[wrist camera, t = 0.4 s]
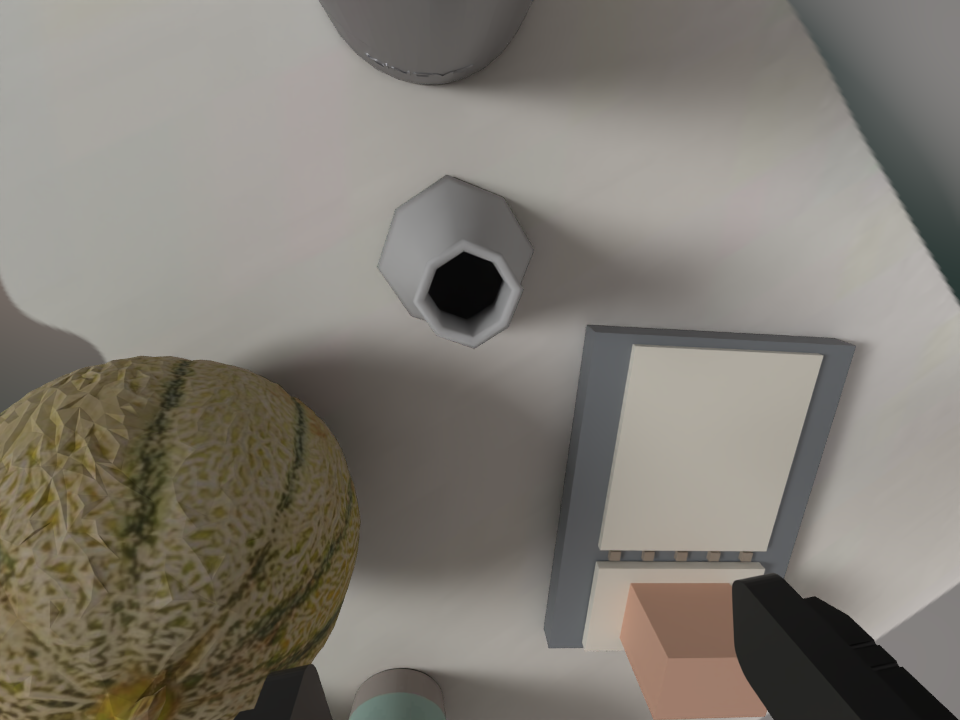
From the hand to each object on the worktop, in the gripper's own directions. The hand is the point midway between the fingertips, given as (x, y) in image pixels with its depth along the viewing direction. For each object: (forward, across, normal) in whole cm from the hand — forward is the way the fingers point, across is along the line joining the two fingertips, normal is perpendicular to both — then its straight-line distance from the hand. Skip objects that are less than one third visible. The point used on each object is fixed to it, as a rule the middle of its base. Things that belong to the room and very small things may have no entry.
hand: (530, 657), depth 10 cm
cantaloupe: (+18, +13, +2) cm, 22 cm away
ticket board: (+18, -11, +9) cm, 23 cm away
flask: (+18, 0, -6) cm, 19 cm away
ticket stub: (+17, -9, +16) cm, 25 cm away
